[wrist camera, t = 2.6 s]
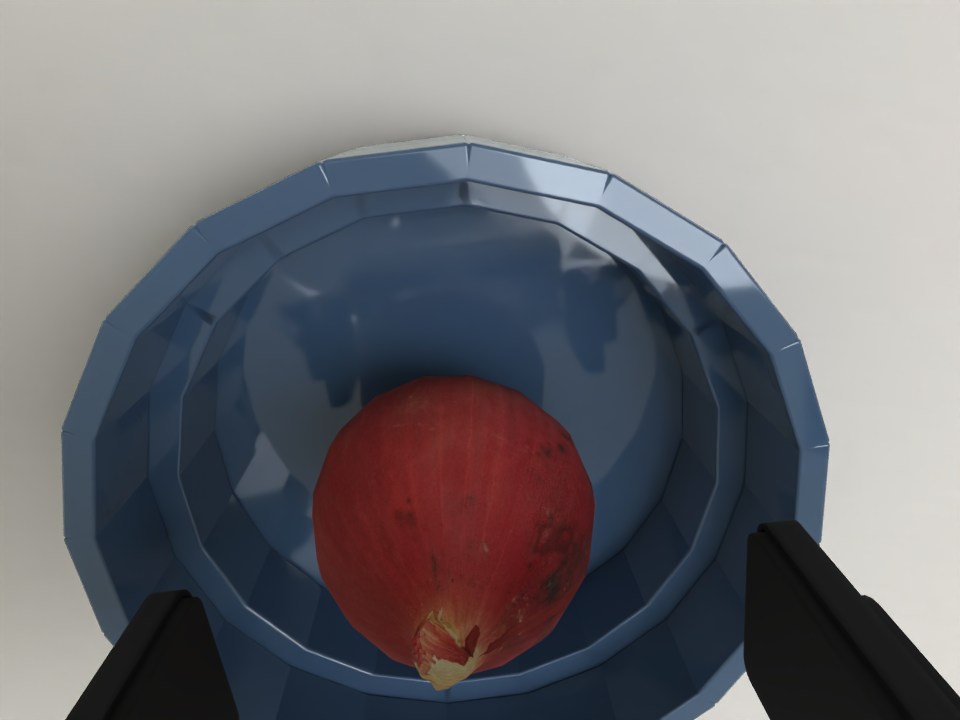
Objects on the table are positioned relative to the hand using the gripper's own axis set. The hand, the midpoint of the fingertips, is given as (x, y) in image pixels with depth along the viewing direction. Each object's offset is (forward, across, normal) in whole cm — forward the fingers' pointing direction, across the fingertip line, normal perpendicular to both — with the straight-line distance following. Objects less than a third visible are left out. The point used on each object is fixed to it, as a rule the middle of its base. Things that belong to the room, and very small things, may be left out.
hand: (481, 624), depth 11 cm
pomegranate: (+7, 0, 0) cm, 7 cm away
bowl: (+7, 0, 0) cm, 7 cm away
